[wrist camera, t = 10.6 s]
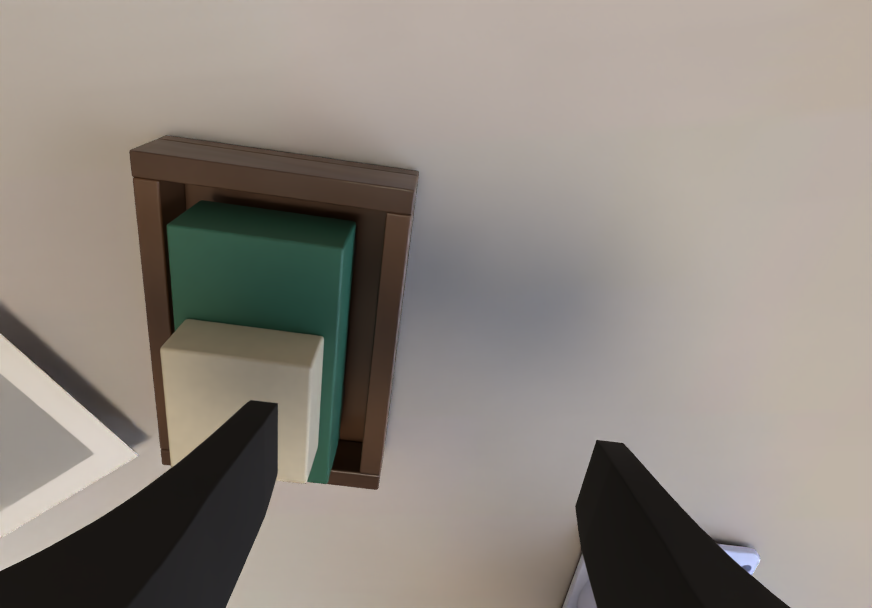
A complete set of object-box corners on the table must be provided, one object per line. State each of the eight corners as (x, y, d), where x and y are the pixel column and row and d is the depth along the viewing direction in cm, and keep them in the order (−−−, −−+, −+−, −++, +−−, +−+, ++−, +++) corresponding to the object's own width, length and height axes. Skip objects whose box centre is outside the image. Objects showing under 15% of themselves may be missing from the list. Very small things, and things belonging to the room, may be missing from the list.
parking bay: (384, 449, 24) (378, 491, 22) (186, 425, 24) (161, 465, 22) (418, 170, 19) (415, 190, 17) (165, 134, 19) (128, 149, 17)
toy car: (343, 424, 23) (317, 525, 18) (219, 408, 23) (160, 508, 18) (360, 211, 19) (332, 273, 14) (210, 191, 19) (133, 247, 14)
